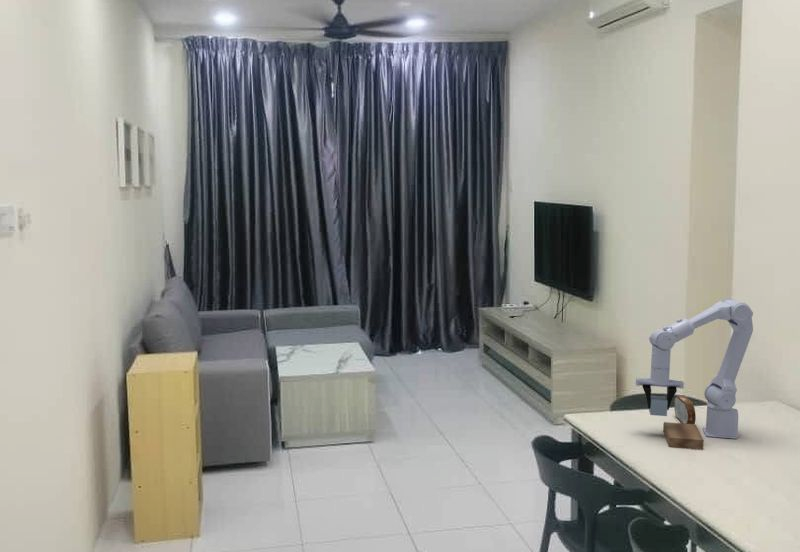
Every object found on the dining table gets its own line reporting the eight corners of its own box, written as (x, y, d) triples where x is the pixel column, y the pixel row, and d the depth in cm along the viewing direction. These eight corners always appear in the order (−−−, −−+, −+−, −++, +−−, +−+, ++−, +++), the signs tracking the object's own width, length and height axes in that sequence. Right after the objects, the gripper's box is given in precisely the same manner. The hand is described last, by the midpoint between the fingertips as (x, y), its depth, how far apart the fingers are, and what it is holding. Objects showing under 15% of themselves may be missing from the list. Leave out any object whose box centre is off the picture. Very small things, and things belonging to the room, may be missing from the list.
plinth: (695, 433, 263) (695, 424, 263) (703, 449, 248) (703, 440, 247) (663, 430, 265) (663, 422, 265) (668, 446, 250) (669, 437, 249)
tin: (695, 429, 268) (697, 404, 267) (686, 429, 268) (687, 404, 267) (681, 415, 283) (682, 392, 282) (672, 415, 283) (673, 392, 282)
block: (665, 411, 262) (665, 396, 262) (666, 416, 257) (667, 400, 257) (649, 410, 263) (649, 395, 263) (650, 415, 258) (651, 399, 258)
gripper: (682, 365, 261) (680, 406, 263) (635, 362, 264) (633, 403, 266) (685, 370, 254) (683, 412, 256) (637, 368, 257) (635, 409, 259)
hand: (658, 408), depth 260 cm, fingers closed on block, 5 cm apart
